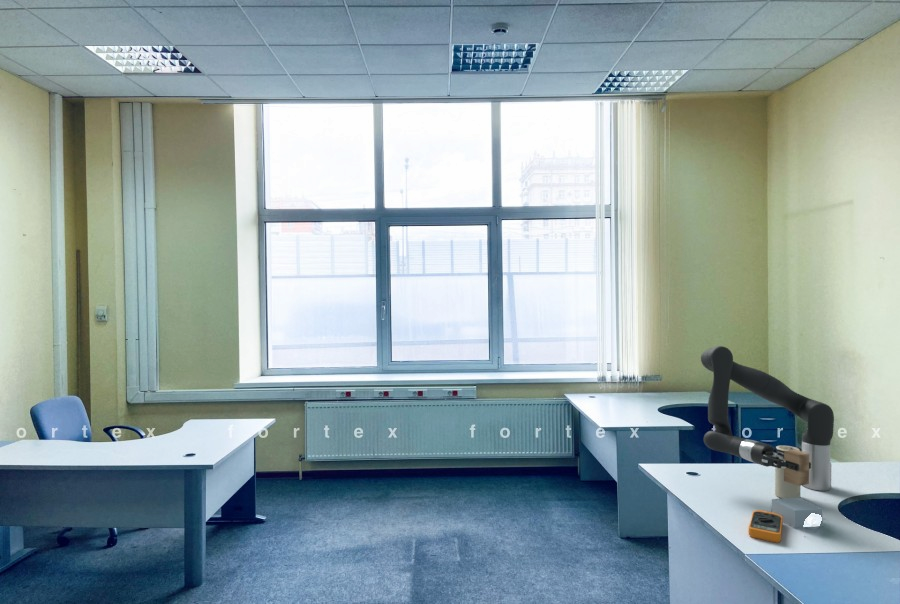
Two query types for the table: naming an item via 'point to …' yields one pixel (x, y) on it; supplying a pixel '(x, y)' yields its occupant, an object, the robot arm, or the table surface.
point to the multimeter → (766, 526)
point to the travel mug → (781, 486)
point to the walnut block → (803, 461)
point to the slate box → (795, 511)
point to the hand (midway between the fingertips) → (804, 466)
